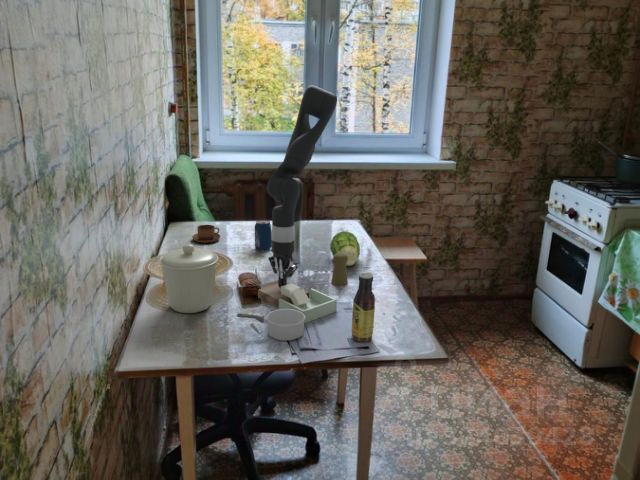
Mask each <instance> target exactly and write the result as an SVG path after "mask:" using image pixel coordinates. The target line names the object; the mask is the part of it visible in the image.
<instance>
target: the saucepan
mask: <svg viewBox="0 0 640 480" xmlns="http://www.w3.org/2000/svg"><path fill="white" fill-rule="evenodd" d="M236 317H238V318H246V319H254V320H257V321H258V322H260V323H261V324H266V326H267V327H266V329H267V332H266V333H267V334H268V336H269V337H271V338H273V339H275V340H279V341H288V342H289V341H293V340H296V339H298V338H300V337H302V336H303V335H304V333H305V323H304V320H305V318H306V316H305V315H304V314H303V313H302V312H300V311H298V310H294V309H278V308H277V309H274V310H272V311H270V312H268V313H267V314H266V315H265V316H264V315H262V316H261V315H258V314H248V313H237V314H236Z"/></svg>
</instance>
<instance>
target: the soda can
mask: <svg viewBox="0 0 640 480" xmlns="http://www.w3.org/2000/svg"><path fill="white" fill-rule="evenodd" d="M271 231H272V224H271V221H270V220H268V219H259V220H257V221H256V222H255V224H254V248H255V249H256V251H258V252H268V251H270V250H271Z"/></svg>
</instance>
